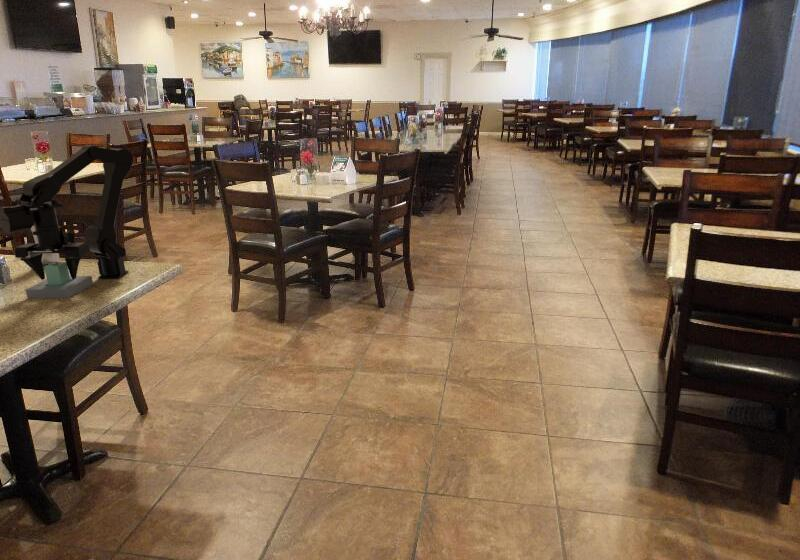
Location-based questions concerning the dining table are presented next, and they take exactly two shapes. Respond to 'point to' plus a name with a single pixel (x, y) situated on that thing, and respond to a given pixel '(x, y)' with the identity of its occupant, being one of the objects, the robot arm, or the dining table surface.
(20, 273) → the dining table surface
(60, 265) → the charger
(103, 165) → the robot arm
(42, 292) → the plate
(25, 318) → the dining table surface
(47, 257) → the plastic bottle
